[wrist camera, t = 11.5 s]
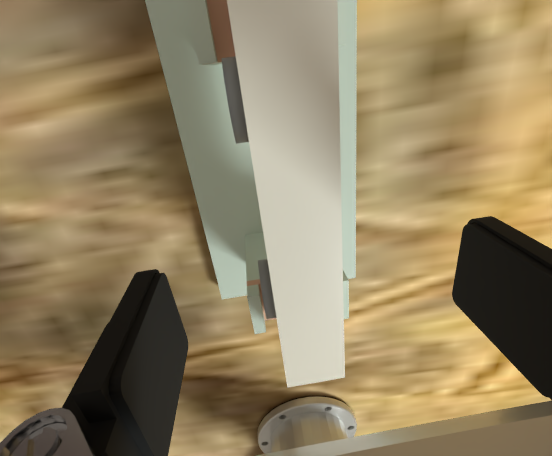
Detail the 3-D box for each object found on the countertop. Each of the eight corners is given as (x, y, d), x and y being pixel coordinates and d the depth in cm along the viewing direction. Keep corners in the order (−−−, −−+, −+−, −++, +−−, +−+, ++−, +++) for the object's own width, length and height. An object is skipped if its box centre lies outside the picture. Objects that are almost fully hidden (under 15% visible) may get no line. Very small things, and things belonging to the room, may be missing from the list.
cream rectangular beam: (321, 310, 20) (344, 377, 16) (269, 319, 20) (277, 389, 16) (299, -41, 12) (335, -103, 8) (209, -30, 12) (192, -87, 7)
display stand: (350, 267, 29) (392, 343, 21) (222, 288, 29) (217, 373, 21) (348, -73, 18) (436, -184, 10) (138, -48, 17) (54, -145, 9)
